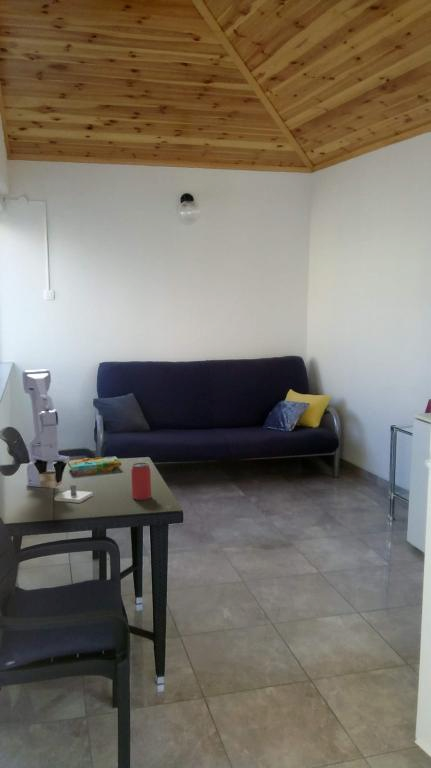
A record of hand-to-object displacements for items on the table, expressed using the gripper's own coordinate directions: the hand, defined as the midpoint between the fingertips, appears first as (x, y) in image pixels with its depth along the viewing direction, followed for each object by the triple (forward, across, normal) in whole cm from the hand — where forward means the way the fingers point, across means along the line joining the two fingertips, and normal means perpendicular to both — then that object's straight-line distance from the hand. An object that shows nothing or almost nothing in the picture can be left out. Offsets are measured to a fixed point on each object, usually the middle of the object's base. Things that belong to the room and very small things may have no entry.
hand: (51, 481), depth 238 cm
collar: (+1, 0, 0) cm, 1 cm away
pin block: (+6, +9, 0) cm, 10 cm away
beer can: (+6, +32, +7) cm, 33 cm away
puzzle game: (+6, -4, +37) cm, 38 cm away
